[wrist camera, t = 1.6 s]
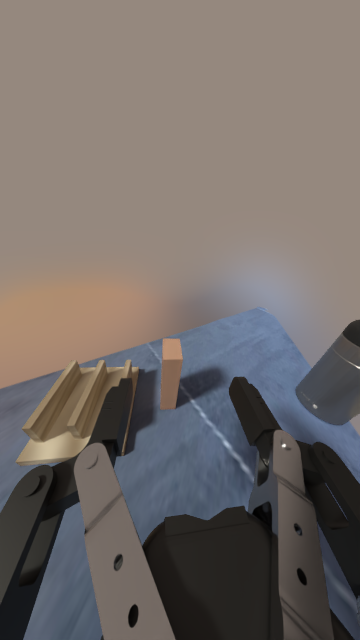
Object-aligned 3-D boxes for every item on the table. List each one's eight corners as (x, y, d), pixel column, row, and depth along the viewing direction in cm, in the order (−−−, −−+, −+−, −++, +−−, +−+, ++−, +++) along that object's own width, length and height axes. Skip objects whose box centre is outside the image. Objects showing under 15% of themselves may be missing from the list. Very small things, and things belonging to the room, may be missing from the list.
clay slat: (173, 386, 33) (179, 338, 26) (175, 408, 29) (182, 359, 22) (160, 386, 32) (163, 338, 25) (160, 409, 28) (162, 359, 21)
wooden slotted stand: (138, 371, 36) (137, 353, 32) (124, 455, 22) (119, 439, 19) (78, 372, 34) (70, 353, 31) (20, 465, 20) (-4, 449, 17)
